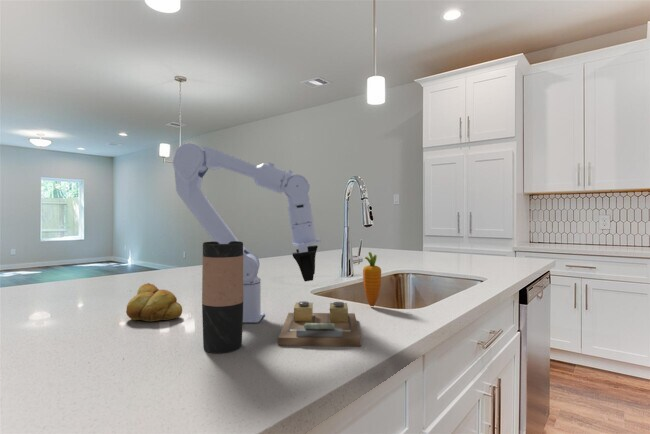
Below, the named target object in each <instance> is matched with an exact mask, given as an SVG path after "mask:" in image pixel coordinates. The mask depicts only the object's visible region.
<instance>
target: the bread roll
mask: <svg viewBox="0 0 650 434" xmlns="http://www.w3.org/2000/svg"><path fill="white" fill-rule="evenodd" d="M177 300H178V299H177V297H176V295H175V294H174V293H173V292H171V291H170V290H167V289H159V288H157V286H155V285H154V283H153V284H152V283H150V282H147V283H144V284H142V285H140V286H139V288H138V290H137V293H136V295H135V296H133V297H132V298H131V299H130V300H129V302H128V303H127V304H126V310H125V313H126V315H127V317H128V318H129V319H130V320H132V321H145V322H158V321H170V320H174V319H176V318H179V317H180V316H182V314H183V313H182V312H183V306H182V305H181V304H180V303H179V302H177Z"/></svg>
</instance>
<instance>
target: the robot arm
mask: <svg viewBox="0 0 650 434" xmlns="http://www.w3.org/2000/svg"><path fill="white" fill-rule="evenodd" d="M172 166H173V169H174V180H175V191H176V194H177V195H178V196H179V198H180V199H181V200H182V202H183V203H184V204H185V205H186V207H187V208H188V209H189V211H190V212H191V213H192V214H193V216H194V217H195V219H196V220H197V222H198V223H199V224H200V226H202V228H203V229H204V231H205V232H206V233H207V235H209V238H211V240H212V242H213V241H216V242H218V243H220V244H228V243H229V242H231V241H239V239H238V238H237V237H236V235H235V234H234V232H233V231H232V230H231V229H230V227H229V226H228V224H227V223H226V221H224V219H223V218H222V216H220V214H219V212H218V211H217V210H216V208H215V207H214V206H213V204H212V203H211V202H210V201H209V199H208V198H207V197H206V195H205V194H204V192H203V191H202V189H201V187H202V184H203V183H202V182H203V179H204V176H205V175H206V173H207V172H208V170H211V171H215V170H219V169H225V170H228V171H230V172H233V173H237V174H240V175H243V176H246V177H248V178H249V177H250V178H252V180H253V181H254V183H255V185H256V186H258V187H261V188H263V189H267V190H270V191H273V192H275V193H277V194H283V193H284V194H285V196H286V199H287V204H288V206H287V211H288V218H289V226H290V231H291V239H292V240H291V241H292V242H291V245H292V247H295V248H297V249H296V250H295V251H296V252H293V253H292V258H293V259H294V260H295V262H296V263H297V265H298V268H299V271H300V273H301V276H302V279H303V281H304V282H310V281H314V275H315V271H316V254H317V250H318V249H319V248H318V244H317V243H320V242H321V238H316V233H315V226H314V218H313V212H312V205H311V202H310V195H309V192H310V186H311V185H310V183H309V181H308V180H307V179H306V177H305V176H303V175H301V174H293V170H288V171H287V170H284V169H282V168H279V167H277V166H275V163H273V162H268V163H265V162H262V163H261V164H258V165H255V164H254V163H250V162H249V161H245V160H243V159H241V158H238V157H235V156H234V155H230V154H228V153H226V152H223V151H221V150H218V149H215V148H211V147H209V146H204V145H201V146H199V145H198V144H196V143H193V142H186V143H183V144H181V145H179V147H178V148H177V149H176V151H175V153H174V156H173V159H172ZM314 244H315V245H314ZM316 244H317V245H316ZM259 268H260V260H259V258H258V256H257V255H255V254H254V253H252V252H250V251H249V250H248V249H247V248H246V247H245V245H243V323H252V324H253V323H255V324H256V323H259V322H261V320H262V318H263V317H264V316H265V311H261V309H262V308H261V301H262V300H261V299H262V298H261V296H262V295H261V293H262V292H261V291H262V290H261V287H262V286H261V284H262V283H261V281H262V280H261V278H260V277H259V276H258V274H259Z"/></svg>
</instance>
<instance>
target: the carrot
mask: <svg viewBox="0 0 650 434" xmlns="http://www.w3.org/2000/svg"><path fill="white" fill-rule="evenodd" d="M368 256H369V257H368ZM368 256H364V259H365V260H367V261H368V263H369V265H365V266H364V267H363V269H362V277H363V278H362V282H363V289H364V295H365V299H366V301H367V303H368V304H369V305H368V306H370V307H371V306H373V307H374V306H375V305H376V303H377V301H378V298H379V295H380V291H381V286H382V285H381V284H382V268H381V267H380V266H378V265H376V262H377V255H376V254H374V255H373V254H372V252H371V251H369V252H368Z"/></svg>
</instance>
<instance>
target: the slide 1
mask: <svg viewBox="0 0 650 434" xmlns="http://www.w3.org/2000/svg"><path fill="white" fill-rule="evenodd" d="M293 313H294V321H301V322H312V318H313V313H314V302H309V301H299V302H295V304H294V307H293Z"/></svg>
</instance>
